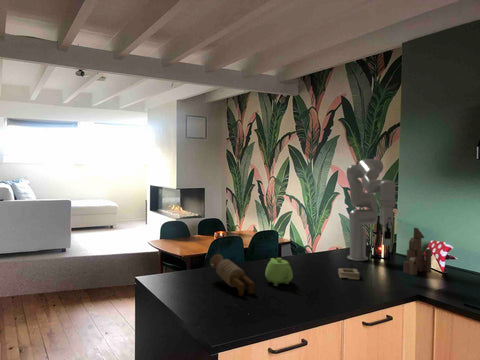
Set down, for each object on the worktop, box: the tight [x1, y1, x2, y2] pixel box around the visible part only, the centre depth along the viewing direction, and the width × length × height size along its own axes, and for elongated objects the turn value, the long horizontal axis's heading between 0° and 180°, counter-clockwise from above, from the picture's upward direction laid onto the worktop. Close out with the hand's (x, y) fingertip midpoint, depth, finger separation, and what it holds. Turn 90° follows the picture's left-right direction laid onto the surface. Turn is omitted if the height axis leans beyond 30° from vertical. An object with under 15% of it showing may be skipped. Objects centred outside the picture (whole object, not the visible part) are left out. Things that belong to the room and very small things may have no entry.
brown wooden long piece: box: [209, 253, 255, 297], centre depth 194 cm, size 10×12×30 cm
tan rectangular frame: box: [337, 267, 360, 280], centre depth 213 cm, size 10×10×3 cm
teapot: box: [264, 257, 294, 287], centre depth 201 cm, size 20×13×13 cm
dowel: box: [381, 224, 391, 247], centre depth 212 cm, size 4×4×12 cm
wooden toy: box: [402, 227, 432, 276], centre depth 222 cm, size 16×7×25 cm, turn 117°
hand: (386, 237), depth 212 cm, fingers closed on dowel, 4 cm apart
